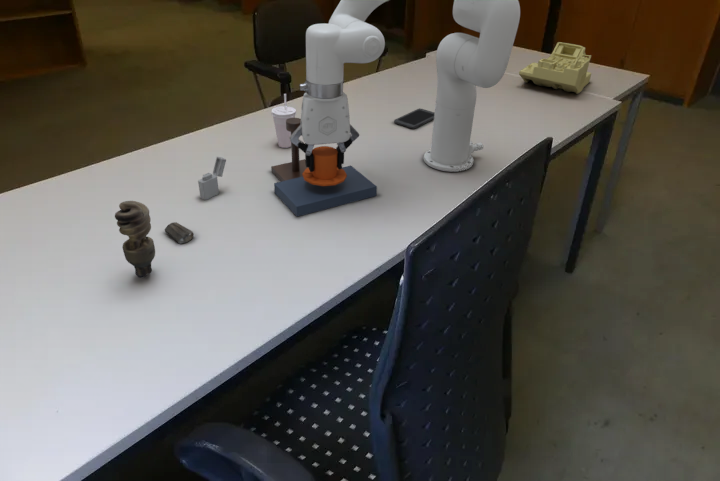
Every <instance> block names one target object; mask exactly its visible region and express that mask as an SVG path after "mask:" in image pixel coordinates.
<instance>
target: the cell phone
mask: <svg viewBox="0 0 720 481" xmlns="http://www.w3.org/2000/svg"><path fill="white" fill-rule="evenodd" d="M434 114H435V111H430V110H428V109H425V108H421V107H420V108H417V109H414V110H412V111H410V112H408V113H406V114H404V115H402V116H400V117H397V118H395V119H394V120H393V121H394V124H395V125H396V124H397V125H400V126H403V127H406V128H409V129H412V130H413V129H417V128H419V127H422V126H423V125H425V124H427V123H429V122H431V121H434Z"/></svg>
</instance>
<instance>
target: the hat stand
mask: <svg viewBox="0 0 720 481" xmlns="http://www.w3.org/2000/svg"><path fill="white" fill-rule="evenodd" d="M300 122H301V117H295V118H289V119H287V120H286V130H287V131H290V132H291V135H292V134H293V133H294V131H295V130H296V129H297V128H298V127H299V126H300ZM298 139H299V140H300V137H299V138H298ZM290 149H291V151H290V152H291V162H286V163H280V164H277V165H271V167H270V170H271V173H272V174H273V175H274V176H275V177H276V178H277V180H279V182H281V181H286V180H290V179H294V178H299V177H303V175H302V173H303V172H304V171H305V169H306V168H308V167H306V164H305V158H303V159H300V148H299V147H298V146H296V145H295V144H293V143H292V142H291V147H290Z"/></svg>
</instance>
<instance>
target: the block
mask: <svg viewBox="0 0 720 481" xmlns="http://www.w3.org/2000/svg"><path fill="white" fill-rule="evenodd" d="M164 232H165V233H166V234H167V235H168V236H170V238H172V239H173V240H174V241H175V242H176V243H177V244H185V243H188V242H190V241H192V239H193V237H194V232H193V231H192V230H191V229H189V228H187V227H185V226H184V225H182V224H181V223H179V222H177V221H175V222H174V221H173V222H171V223H169V224H168V225H167V226H166V227H165V228H164Z"/></svg>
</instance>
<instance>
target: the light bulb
mask: <svg viewBox="0 0 720 481" xmlns="http://www.w3.org/2000/svg"><path fill="white" fill-rule="evenodd" d="M118 207H119V210H118V211H116V212H115V214H114V219H115V220H117V221H116V225H117V227H118V228H119V229H118V231H119V233H120V234H121V235H122V236H123V235H124V236H127V237H128V239H126V240H125V241H124V242H123V243H122V251H123V256H124V259H125V260H126V262H127V263H129V264H130V265H132V266H133V268H134V270H135V271H134V273H135V275H136V276H137V278H141V279H142V278H146V277H147V276H148V275H149V274H151V273H152V271H153V268H152V262H153V261H154V259H155V257H156V247H155V241H154V239H153V238H152V237H150V236H148V235H149V234H150V232H151V230H152V224H151V215H150V209H149V208H148V206H147V205H146V204H144V203H142V202H140V201H135V200H125V201H122V202H120V203H119V205H118Z"/></svg>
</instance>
